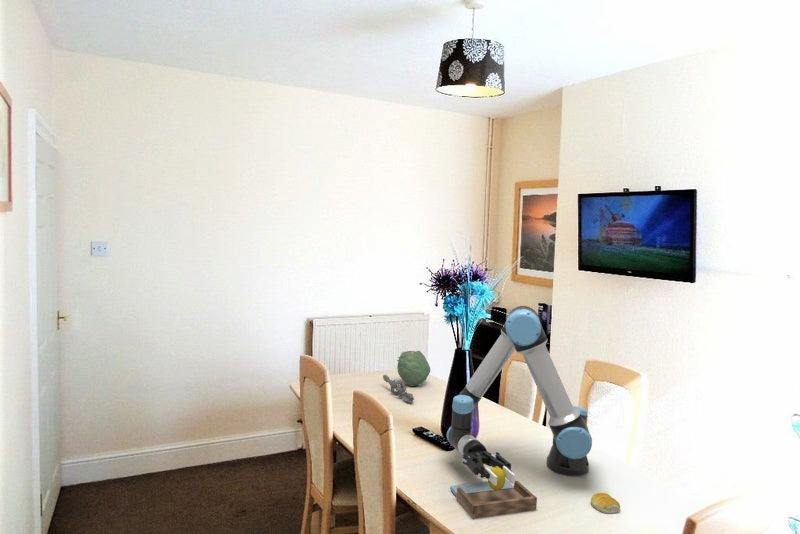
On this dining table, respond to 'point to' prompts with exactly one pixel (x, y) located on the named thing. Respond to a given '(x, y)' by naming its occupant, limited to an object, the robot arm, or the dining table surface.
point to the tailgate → (478, 487)
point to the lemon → (498, 478)
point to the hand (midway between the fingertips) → (504, 480)
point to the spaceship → (399, 389)
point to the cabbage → (413, 367)
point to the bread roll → (605, 503)
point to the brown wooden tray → (497, 501)
